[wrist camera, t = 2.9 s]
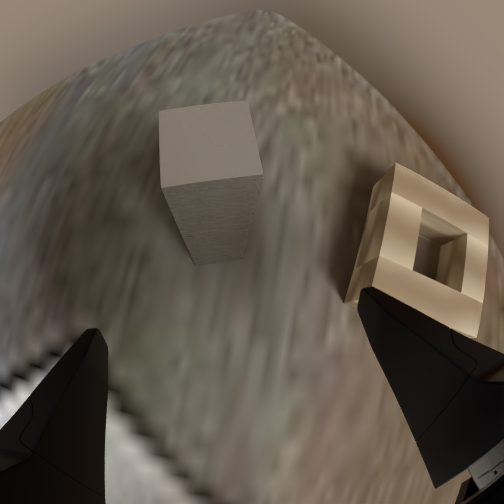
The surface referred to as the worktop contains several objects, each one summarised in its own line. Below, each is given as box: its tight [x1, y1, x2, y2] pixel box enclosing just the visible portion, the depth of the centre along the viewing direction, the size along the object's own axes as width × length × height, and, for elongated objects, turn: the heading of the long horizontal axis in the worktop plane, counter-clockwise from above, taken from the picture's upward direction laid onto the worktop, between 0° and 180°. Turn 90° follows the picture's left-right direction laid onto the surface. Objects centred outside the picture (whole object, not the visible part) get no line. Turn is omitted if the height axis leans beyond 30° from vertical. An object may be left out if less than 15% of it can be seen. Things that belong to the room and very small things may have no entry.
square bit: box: [159, 101, 263, 265], centre depth 17 cm, size 4×4×13 cm
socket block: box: [344, 163, 489, 338], centre depth 22 cm, size 11×11×4 cm
